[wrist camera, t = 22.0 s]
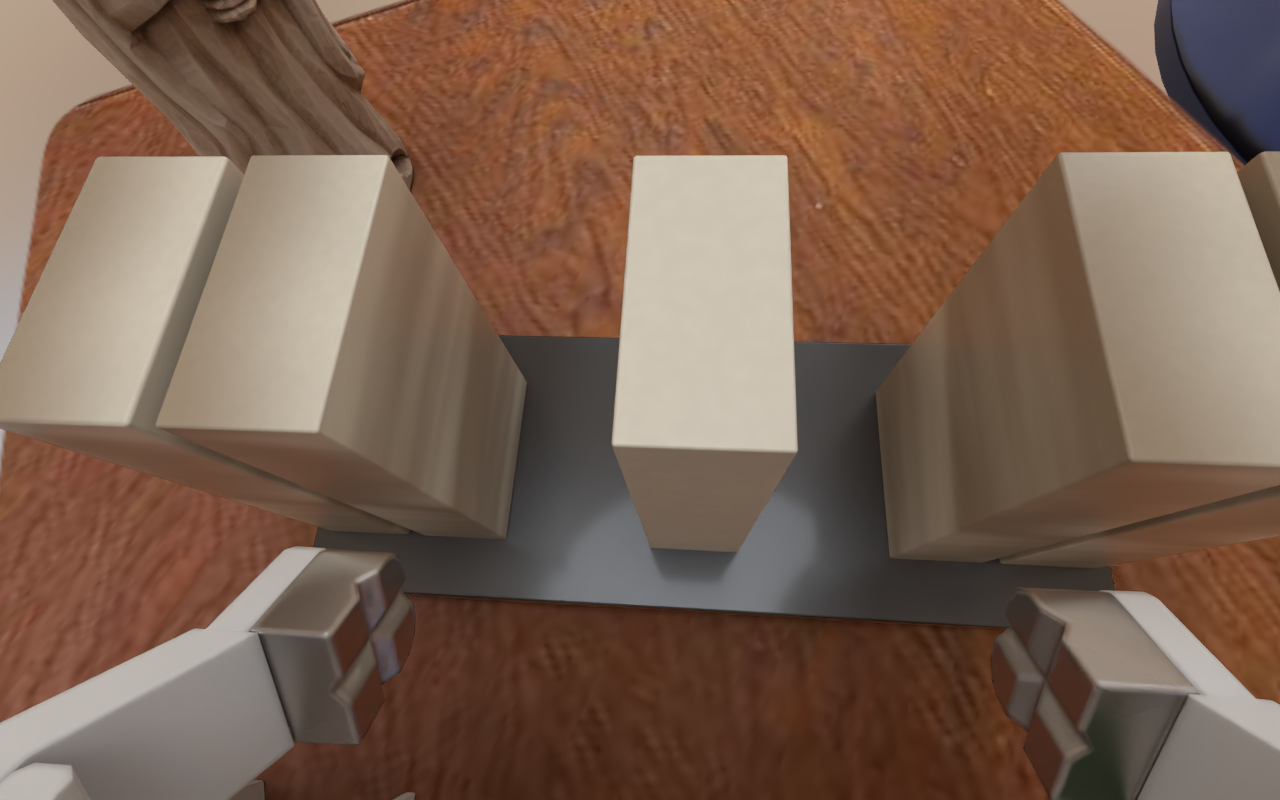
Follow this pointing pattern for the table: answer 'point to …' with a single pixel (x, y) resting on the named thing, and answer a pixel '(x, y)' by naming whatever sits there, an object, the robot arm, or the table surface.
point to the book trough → (586, 384)
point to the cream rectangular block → (706, 347)
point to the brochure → (253, 794)
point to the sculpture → (242, 75)
